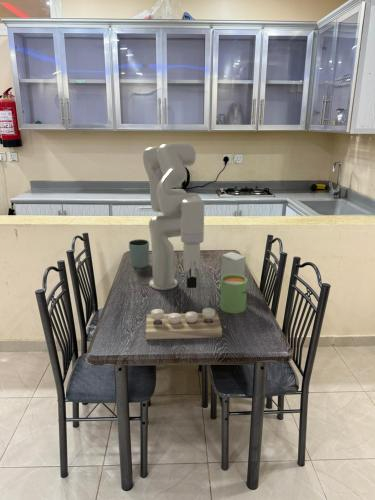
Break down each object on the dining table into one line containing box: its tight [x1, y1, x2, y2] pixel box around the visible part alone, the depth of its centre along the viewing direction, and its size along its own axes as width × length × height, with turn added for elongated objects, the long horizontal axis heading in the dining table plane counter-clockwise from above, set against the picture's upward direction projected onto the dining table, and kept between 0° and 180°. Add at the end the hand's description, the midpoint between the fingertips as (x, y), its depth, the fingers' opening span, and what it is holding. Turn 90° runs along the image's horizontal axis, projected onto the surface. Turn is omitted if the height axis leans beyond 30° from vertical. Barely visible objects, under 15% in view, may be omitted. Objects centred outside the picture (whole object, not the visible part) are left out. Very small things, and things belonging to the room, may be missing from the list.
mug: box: [219, 274, 248, 314], centre depth 156 cm, size 13×10×12 cm
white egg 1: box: [168, 312, 181, 324], centre depth 140 cm, size 4×4×5 cm
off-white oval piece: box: [150, 308, 165, 325], centre depth 139 cm, size 4×4×5 cm
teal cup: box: [128, 239, 150, 269], centre depth 198 cm, size 10×10×12 cm
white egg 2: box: [184, 311, 199, 324], centre depth 140 cm, size 4×4×5 cm
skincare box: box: [219, 251, 246, 289], centre depth 171 cm, size 8×7×16 cm
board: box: [145, 312, 223, 340], centre depth 141 cm, size 12×26×3 cm, turn 93°
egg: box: [201, 307, 216, 323], centre depth 140 cm, size 4×4×5 cm
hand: (191, 286), depth 136 cm, fingers closed
